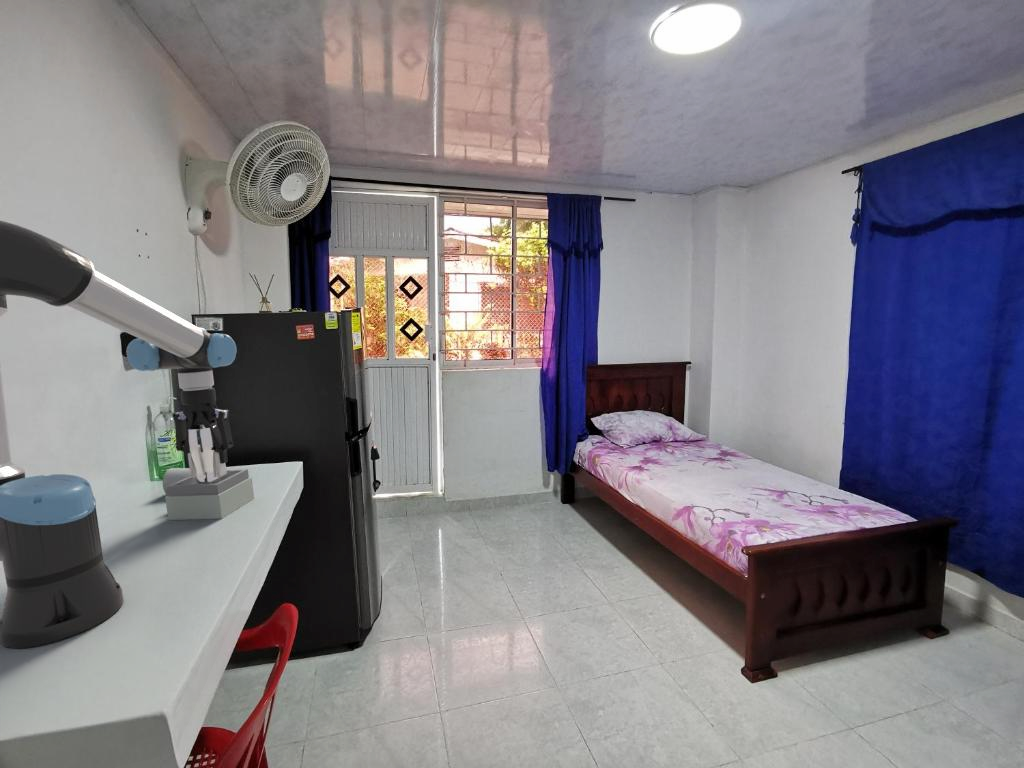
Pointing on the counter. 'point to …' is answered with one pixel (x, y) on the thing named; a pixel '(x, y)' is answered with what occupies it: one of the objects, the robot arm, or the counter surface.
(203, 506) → the grey box with knob
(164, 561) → the counter surface
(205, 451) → the beer glass
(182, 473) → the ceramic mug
